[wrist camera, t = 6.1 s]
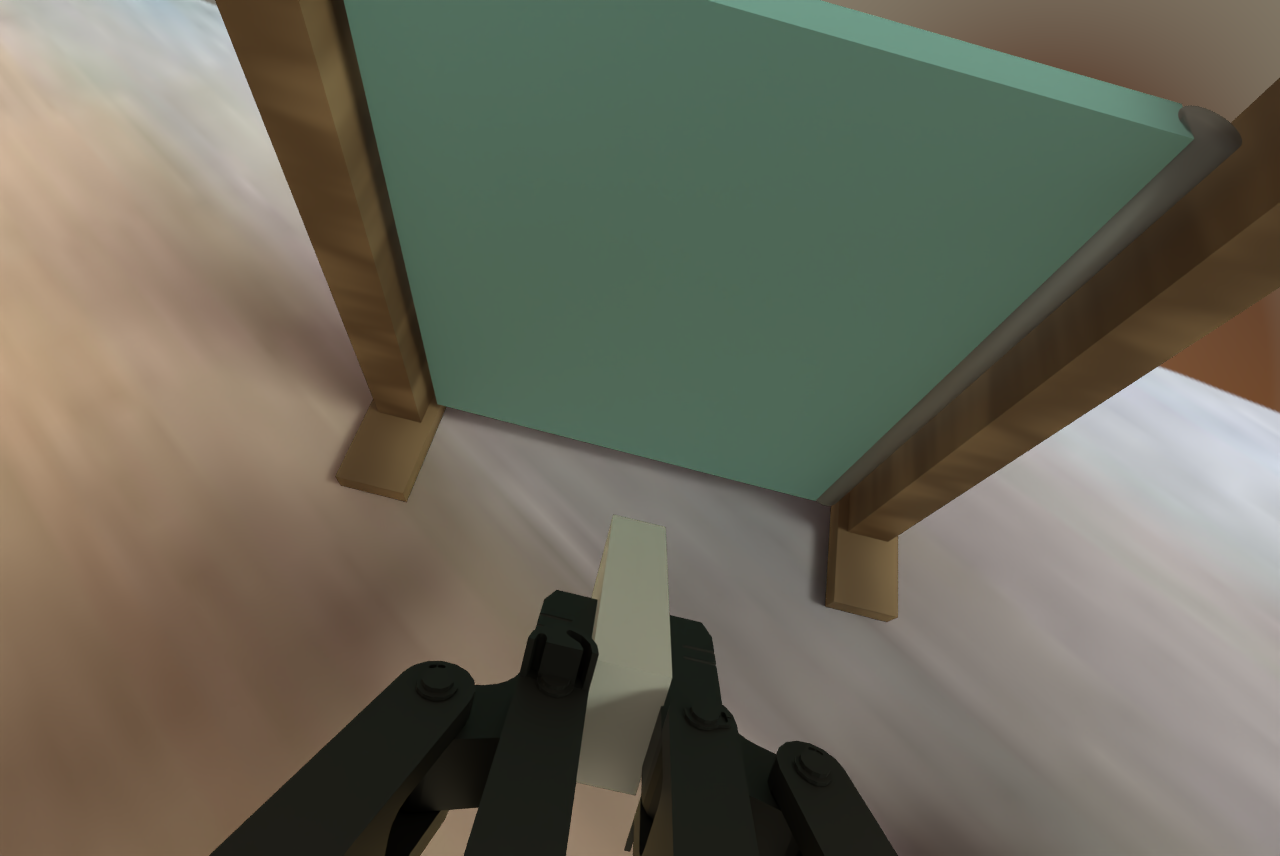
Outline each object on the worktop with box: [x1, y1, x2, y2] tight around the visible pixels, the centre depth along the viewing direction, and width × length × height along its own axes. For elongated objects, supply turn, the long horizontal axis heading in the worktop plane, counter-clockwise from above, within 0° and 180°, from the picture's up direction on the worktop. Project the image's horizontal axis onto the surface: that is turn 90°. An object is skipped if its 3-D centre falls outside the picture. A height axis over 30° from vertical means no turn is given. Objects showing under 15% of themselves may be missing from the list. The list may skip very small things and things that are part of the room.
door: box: [344, 0, 1242, 506], centre depth 22 cm, size 20×3×20 cm, turn 78°
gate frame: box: [215, 0, 1280, 622], centre depth 21 cm, size 26×10×25 cm, turn 78°
